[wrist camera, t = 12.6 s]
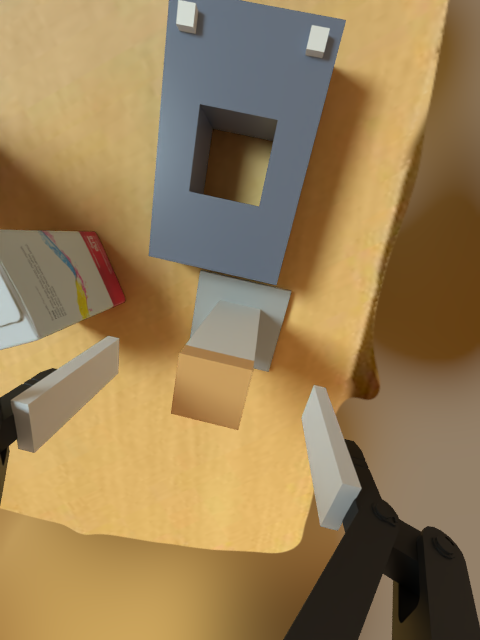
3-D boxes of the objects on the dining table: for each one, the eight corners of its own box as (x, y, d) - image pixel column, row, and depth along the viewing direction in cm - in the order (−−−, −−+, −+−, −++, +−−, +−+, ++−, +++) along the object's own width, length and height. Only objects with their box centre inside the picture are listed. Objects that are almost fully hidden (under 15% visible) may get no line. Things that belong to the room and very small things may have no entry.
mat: (201, 270, 27) (200, 270, 27) (290, 290, 27) (291, 291, 26) (189, 350, 30) (187, 352, 30) (268, 369, 30) (268, 371, 30)
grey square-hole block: (190, 37, 21) (166, -22, 16) (330, 65, 20) (348, 12, 16) (167, 252, 27) (145, 256, 22) (275, 277, 26) (276, 286, 22)
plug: (219, 300, 27) (178, 353, 15) (260, 309, 27) (253, 370, 15) (213, 337, 29) (171, 413, 16) (251, 346, 29) (238, 430, 16)
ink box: (96, 229, 27) (-25, 223, 16) (128, 302, 29) (42, 342, 18) (34, 251, 29) (-116, 260, 18) (68, 319, 31) (-44, 365, 20)
